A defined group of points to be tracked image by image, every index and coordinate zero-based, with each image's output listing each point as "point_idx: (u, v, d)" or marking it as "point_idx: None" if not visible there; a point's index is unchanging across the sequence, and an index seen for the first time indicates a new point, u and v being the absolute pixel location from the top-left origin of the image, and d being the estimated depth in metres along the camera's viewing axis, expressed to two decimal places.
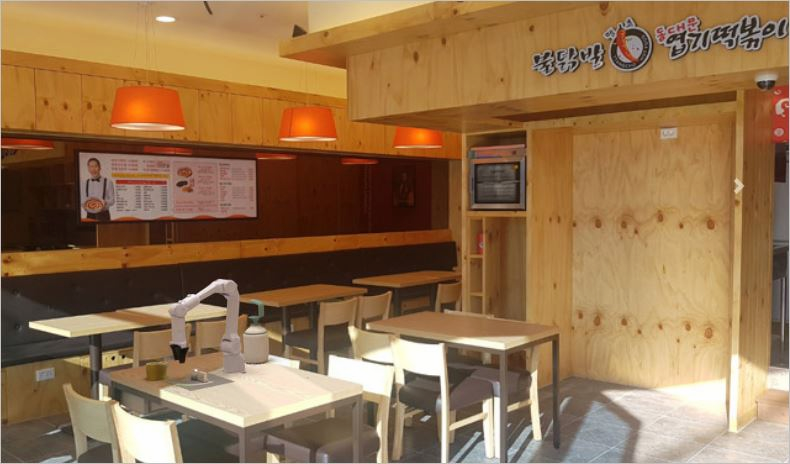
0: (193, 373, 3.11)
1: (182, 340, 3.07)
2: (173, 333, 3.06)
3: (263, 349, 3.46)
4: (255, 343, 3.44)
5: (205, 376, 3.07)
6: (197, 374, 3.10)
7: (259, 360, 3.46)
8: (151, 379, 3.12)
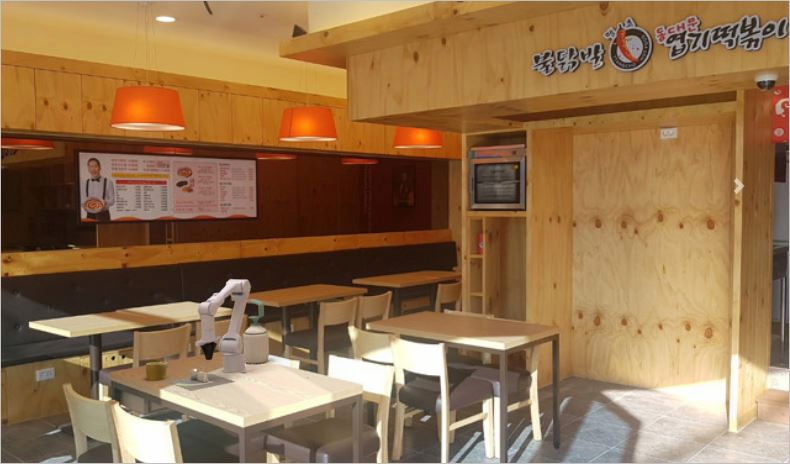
0: (193, 373, 3.11)
1: (205, 339, 3.09)
2: None
3: (263, 349, 3.46)
4: (255, 343, 3.44)
5: (205, 376, 3.07)
6: (197, 374, 3.10)
7: (259, 360, 3.46)
8: (151, 379, 3.12)
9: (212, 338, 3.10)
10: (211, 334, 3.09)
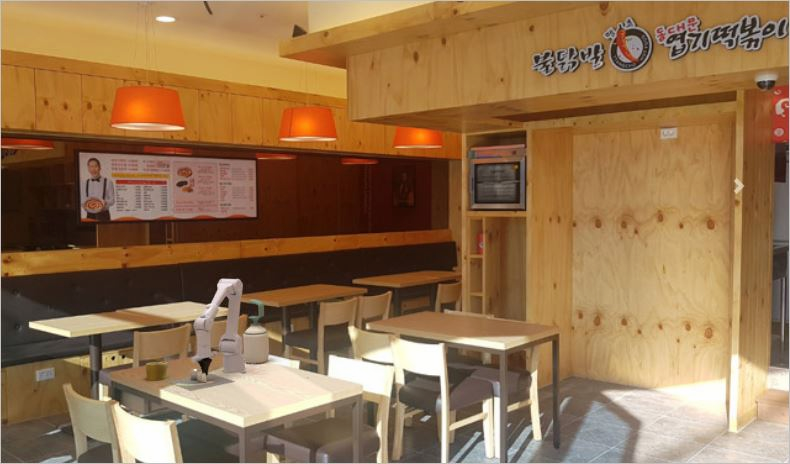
0: (193, 373, 3.11)
1: (201, 354, 3.06)
2: None
3: (263, 349, 3.46)
4: (255, 343, 3.44)
5: (203, 376, 3.07)
6: (196, 374, 3.10)
7: (259, 360, 3.46)
8: (151, 379, 3.12)
9: (208, 354, 3.08)
10: (207, 350, 3.07)
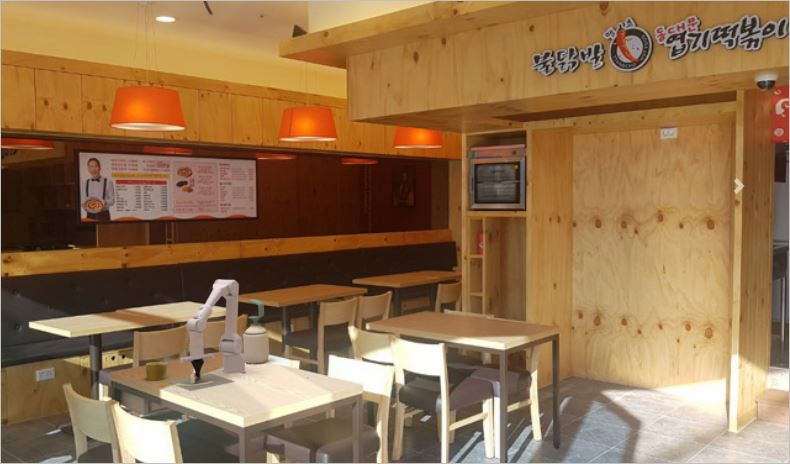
0: (191, 372, 3.12)
1: (191, 355, 3.05)
2: None
3: (263, 349, 3.46)
4: (255, 343, 3.44)
5: (192, 378, 3.05)
6: None
7: (259, 360, 3.46)
8: (151, 379, 3.12)
9: (198, 355, 3.05)
10: (197, 351, 3.04)
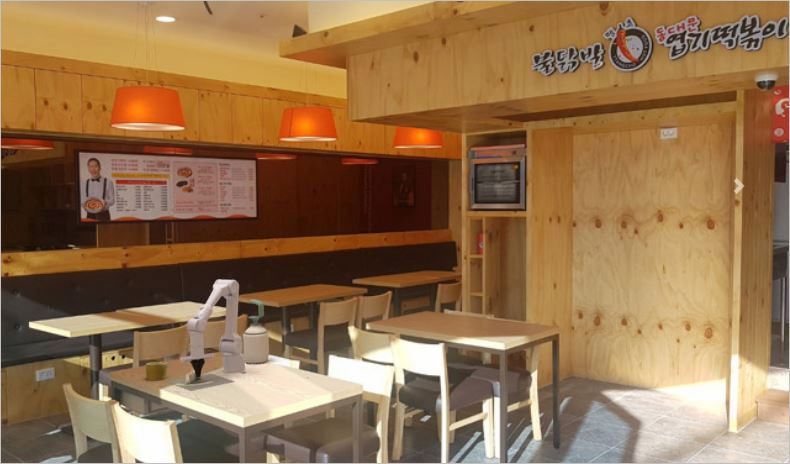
0: None
1: (191, 355, 3.05)
2: None
3: (263, 349, 3.46)
4: (255, 343, 3.44)
5: (187, 378, 3.05)
6: None
7: (259, 360, 3.46)
8: (151, 379, 3.12)
9: (198, 355, 3.04)
10: (197, 351, 3.04)
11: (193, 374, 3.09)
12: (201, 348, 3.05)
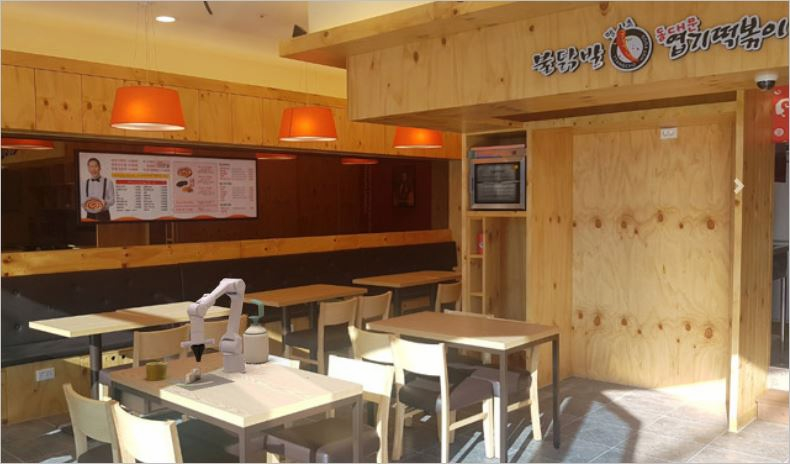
0: None
1: (192, 340, 3.06)
2: None
3: (263, 349, 3.46)
4: (255, 343, 3.44)
5: (187, 378, 3.05)
6: None
7: (259, 360, 3.46)
8: (151, 379, 3.12)
9: (198, 340, 3.06)
10: (197, 336, 3.05)
11: (193, 374, 3.09)
12: (201, 333, 3.07)
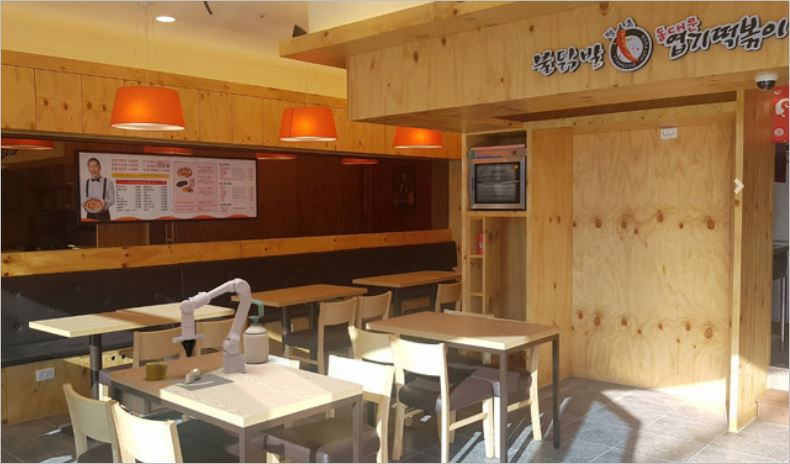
0: None
1: (183, 336, 3.17)
2: None
3: (263, 349, 3.46)
4: (255, 343, 3.44)
5: (187, 378, 3.05)
6: None
7: (259, 360, 3.46)
8: (151, 379, 3.12)
9: (190, 336, 3.17)
10: (189, 332, 3.16)
11: (193, 374, 3.09)
12: (192, 329, 3.18)
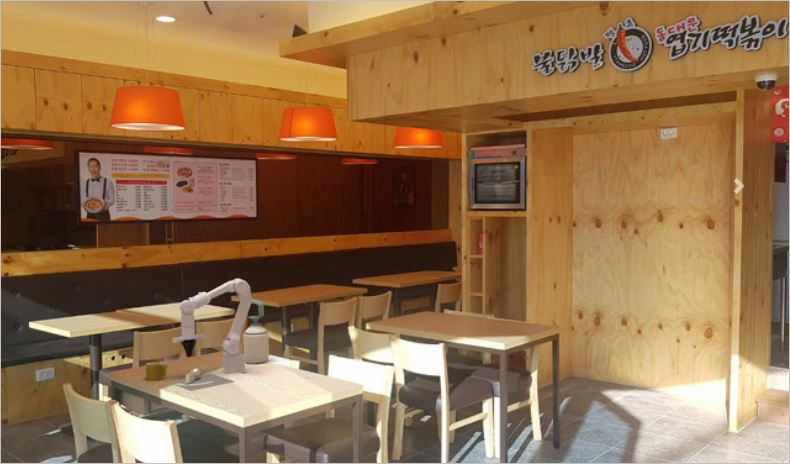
0: None
1: (183, 336, 3.17)
2: None
3: (263, 349, 3.46)
4: (255, 343, 3.44)
5: (187, 378, 3.05)
6: None
7: (259, 360, 3.46)
8: (151, 379, 3.12)
9: (190, 336, 3.17)
10: (189, 332, 3.16)
11: (193, 374, 3.09)
12: (192, 329, 3.18)
